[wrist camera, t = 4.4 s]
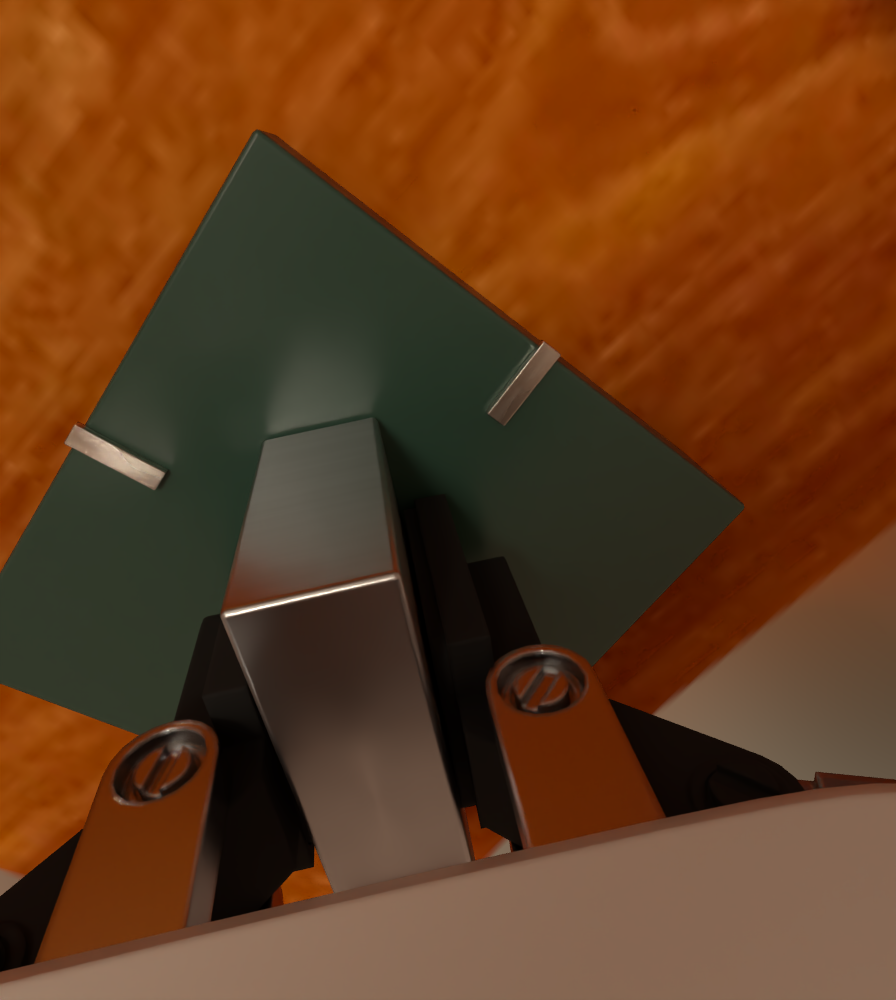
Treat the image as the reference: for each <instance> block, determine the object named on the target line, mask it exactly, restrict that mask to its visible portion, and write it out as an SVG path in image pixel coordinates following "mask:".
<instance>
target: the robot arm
mask: <svg viewBox="0 0 896 1000" xmlns="http://www.w3.org/2000/svg"><path fill="white" fill-rule="evenodd" d="M414 503H415V508H412V509H406V510H404V515H405V521H406V526H407V531H408V536H409V541H410V547H411V552H412V557H413V562H414V567H415V573H416V578H417V583H418V588H419V593H420V599H421V604H422V609H423V614H424V620H425V625H426V630H427V635H428V640H429V645H430V651H431V656H432V661H433V666H434V671H435V676H436V681H437V686H438V691H439V696H440V701H441V706H442V711H443V716H444V721H445V726H446V731H447V736H448V741H449V746H450V751H451V756H452V761H453V766H454V771H455V776H456V781H457V786H458V791H459V796H460V801H461V806H462V808H465V807H470V806H474V805H476V807H477V812H478V816H479V821H480V826H481V828H488V829H490V830H492V831H493V832H495V833H497V834H499V835H501V836H502V837H504V838H506V839H508V840H509V842H510V849H511V853H506V854H502V855H498V856H493V857H489V858H484V859H480V860H475V861H471V862H467V863H462V864H458V865H453V866H449V867H445V868H440V869H436V870H432V871H427V872H423V873H419V874H414V875H410V876H406V877H401V878H397V879H393V880H388V881H384V882H380V883H376V884H371V885H367V886H363V887H358V888H354V889H350V890H345V891H341V892H337V893H332V894H328V895H324V896H319V897H315V898H311V899H307V900H302V901H298V902H294V903H289V904H285V905H284V903H283V894H282V889H281V887H280V886H281V885H282V884H283V882H284V881H285V880H286V879H287V878H288V877H289V876H290V875H291V874H292V872H294V871H298V870H303V869H307V868H311V867H314V843H313V841H312V838H311V836H310V833H309V831H308V829H307V826H306V824H305V821H304V819H303V816H302V814H301V812H300V809H299V807H298V804H297V802H296V799H295V797H294V795H293V792H292V790H291V787H290V785H289V782H288V780H287V778H286V775H285V773H284V770H283V768H282V765H281V763H280V761H279V758H278V756H277V753H276V751H275V748H274V746H273V744H272V741H271V739H270V736H269V734H268V731H267V729H266V727H265V724H264V722H263V719H262V717H261V714H260V712H259V710H258V707H257V705H256V702H255V700H254V697H253V695H252V693H251V690H250V688H249V685H248V683H247V680H246V678H245V676H244V673H243V671H242V668H241V666H240V663H239V661H238V659H237V656H236V654H235V651H234V649H233V646H232V644H231V642H230V639H229V637H228V634H227V632H226V629H225V627H224V625H223V622H222V620H221V617H220V614H216V615H211V616H207V617H205V618H204V619H203V621H202V624H201V627H200V630H199V634H198V637H197V641H196V644H195V648H194V651H193V655H192V658H191V662H190V665H189V669H188V672H187V676H186V679H185V683H184V686H183V690H182V694H181V697H180V701H179V704H178V708H177V711H176V715H175V718H174V721H171V722H168V723H165V724H162V725H159V726H156V727H154V728H152V729H150V730H148V731H146V732H144V733H142V734H140V735H139V736H137V737H136V738H135V739H133V740H132V741H131V742H129V743H128V744H127V745H125V746H124V747H123V748H122V749H121V750H120V751H119V752H118V753H117V755H116V756H115V757H114V758H113V759H112V760H111V761H110V763H109V765H108V767H107V769H106V770H105V772H104V774H103V776H102V779H101V781H100V784H99V787H98V790H97V792H96V795H95V798H94V801H93V803H92V806H91V809H90V811H89V814H88V817H87V820H86V822H85V825H84V828H83V829H82V830H81V831H80V832H78V833H77V834H76V835H75V836H73V837H72V838H71V839H70V840H69V841H67V842H66V843H65V844H64V845H62V846H61V847H60V848H59V849H58V850H56V851H55V852H54V853H53V854H51V855H50V856H49V857H48V858H47V859H45V860H44V861H43V862H42V863H40V864H39V865H38V866H37V867H36V868H34V869H33V870H32V871H31V872H29V873H28V874H27V875H26V876H25V877H23V878H22V879H21V880H20V881H18V882H17V883H16V884H15V885H14V886H12V887H11V888H10V889H9V890H8V891H6V892H5V893H4V894H3V895H1V896H0V1000H896V780H894V779H883V778H872V777H863V776H853V775H843V774H833V773H823V772H816V773H815V778H814V781H805V780H797V779H796V778H795V777H794V776H793V775H791V774H790V773H789V772H788V771H786V770H785V769H784V768H783V767H782V766H780V765H779V764H777V763H775V762H773V761H771V760H769V759H767V758H765V757H763V756H761V755H758V754H756V753H753V752H750V751H747V750H745V749H742V748H740V747H737V746H734V745H732V744H729V743H726V742H723V741H721V740H718V739H716V738H713V737H710V736H708V735H705V734H702V733H699V732H697V731H694V730H691V729H689V728H686V727H683V726H681V725H678V724H675V723H672V722H670V721H667V720H664V719H662V718H659V717H657V716H654V715H651V714H649V713H646V712H643V711H641V710H638V709H635V708H632V707H630V706H627V705H624V704H622V703H619V702H616V701H614V700H611V699H608V697H607V695H606V693H605V691H604V689H603V687H602V685H601V683H600V681H599V679H598V677H597V675H596V673H595V671H594V669H593V668H592V666H591V665H590V664H589V663H588V661H587V660H586V659H585V658H584V657H582V656H581V655H579V654H578V653H576V652H575V651H573V650H570V649H567V648H564V647H561V646H556V645H547V644H541V642H540V640H539V637H538V635H537V632H536V630H535V628H534V625H533V623H532V620H531V618H530V616H529V613H528V611H527V609H526V606H525V604H524V601H523V599H522V597H521V594H520V592H519V590H518V587H517V585H516V582H515V580H514V578H513V575H512V573H511V571H510V568H509V566H508V563H507V561H506V559H505V557H503V556H501V557H496V558H491V559H486V560H481V561H476V562H471V563H467V562H466V559H465V556H464V552H463V549H462V546H461V543H460V540H459V537H458V534H457V531H456V528H455V525H454V521H453V518H452V515H451V512H450V509H449V506H448V503H447V500H446V497H445V494H441V495H435V496H430V497H425V498H420V499H415V500H414Z"/></svg>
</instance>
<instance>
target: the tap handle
mask: <svg viewBox="0 0 896 1000" xmlns="http://www.w3.org/2000/svg"><path fill="white" fill-rule="evenodd" d="M220 617H221V620H222V622H223V625H224V627H225V629H226V632H227V634H228V637H229V639H230V642H231V644H232V646H233V649H234V651H235V654H236V656H237V659H238V661H239V663H240V666H241V668H242V671H243V673H244V676H245V678H246V680H247V683H248V685H249V688H250V690H251V693H252V695H253V697H254V700H255V702H256V705H257V707H258V710H259V712H260V714H261V717H262V719H263V722H264V724H265V727H266V729H267V731H268V734H269V736H270V739H271V741H272V744H273V746H274V748H275V751H276V753H277V756H278V758H279V761H280V763H281V765H282V768H283V770H284V773H285V775H286V778H287V780H288V782H289V785H290V787H291V790H292V792H293V795H294V797H295V799H296V802H297V804H298V807H299V809H300V812H301V814H302V816H303V819H304V821H305V824H306V826H307V829H308V831H309V833H310V836H311V838H312V841H313V843H314V846H315V848H316V850H317V853H318V855H319V858H320V860H321V863H322V865H323V867H324V870H325V872H326V875H327V877H328V880H329V882H330V884H331V887H332V889H333V892H334V893H337V892H341V891H345V890H350V889H354V888H358V887H363V886H367V885H371V884H376V883H380V882H384V881H388V880H393V879H397V878H401V877H406V876H410V875H414V874H419V873H423V872H427V871H432V870H436V869H440V868H445V867H449V866H453V865H458V864H462V863H467V862H471V861H475V857H474V852H473V847H472V842H471V837H470V832H469V827H468V822H467V817H466V812H465V808H462V806H461V801H460V796H459V791H458V786H457V781H456V776H455V771H454V766H453V761H452V756H451V751H450V746H449V741H448V736H447V731H446V726H445V721H444V716H443V711H442V706H441V701H440V696H439V691H438V686H437V681H436V676H435V671H434V666H433V661H432V656H431V651H430V645H429V640H428V635H427V630H426V625H425V620H424V615H423V611H422V607H421V603H420V598H419V594H418V590H417V586H416V581H415V577H414V573H413V568H412V564H411V560H410V556H409V551H408V547H407V543H406V539H405V534H404V530H403V526H402V522H401V517H400V513H399V509H398V505H397V500H396V496H395V492H394V488H393V483H392V479H391V475H390V471H389V466H388V462H387V458H386V454H385V449H384V445H383V441H382V437H381V432H380V428H379V424H378V421H377V420H376V418H367V419H362V420H358V421H353V422H349V423H344V424H339V425H335V426H330V427H325V428H321V429H316V430H311V431H307V432H302V433H297V434H293V435H288V436H283V437H279V438H274V439H269V440H266V441H264V442H263V443H262V447H261V451H260V455H259V459H258V463H257V467H256V471H255V475H254V479H253V483H252V487H251V491H250V495H249V499H248V503H247V507H246V511H245V515H244V519H243V523H242V527H241V531H240V535H239V539H238V543H237V547H236V551H235V555H234V559H233V563H232V567H231V571H230V575H229V579H228V583H227V587H226V591H225V595H224V599H223V603H222V607H221V612H220Z"/></svg>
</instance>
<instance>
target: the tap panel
mask: <svg viewBox="0 0 896 1000" xmlns="http://www.w3.org/2000/svg"><path fill="white" fill-rule="evenodd" d="M367 418H376V420H377V421H378V424H379V428H380V432H381V437H382V441H383V445H384V449H385V454H386V458H387V462H388V466H389V471H390V475H391V479H392V483H393V488H394V492H395V496H396V500H397V505H398V509H399V513H400V517H401V522H402V526H403V530H404V534H405V539H406V543H407V547H408V551H409V556H410V560H411V564H412V568H413V573H414V577H415V581H416V586H417V590H418V594H419V598H420V593H419V588H418V583H417V578H416V573H415V567H414V562H413V557H412V552H411V547H410V541H409V536H408V531H407V526H406V521H405V515H404V510H406V509H412V508H415V503H414V500H415V499H420V498H425V497H430V496H435V495H441V494H445V497H446V500H447V503H448V506H449V509H450V512H451V515H452V518H453V521H454V525H455V528H456V531H457V534H458V537H459V540H460V543H461V546H462V549H463V552H464V556H465V559H466V562H467V563H471V562H476V561H481V560H486V559H491V558H496V557H501V556H503V557H505V559H506V561H507V563H508V566H509V568H510V571H511V573H512V575H513V578H514V580H515V582H516V585H517V587H518V590H519V592H520V594H521V597H522V599H523V601H524V604H525V606H526V609H527V611H528V613H529V616H530V618H531V620H532V623H533V625H534V628H535V630H536V632H537V635H538V637H539V640H540V642H541V644H547V645H556V646H561V647H564V648H567V649H570V650H573V651H575V652H576V653H578V654H579V655H581V656H582V657H584V658H585V659H586V660H587V661H588V663H589V664H590V665H591V666H593V665H594V664H595V663H596V662H597V661H598V660H599V659H600V658H601V657H602V656H603V655H604V654H605V653H606V652H607V651H608V650H609V649H610V648H611V647H612V645H613V644H614V643H615V642H616V641H617V640H618V639H619V638H620V637H621V636H622V635H623V634H624V633H625V632H626V631H627V630H628V629H629V628H630V627H631V626H632V625H633V624H634V623H635V622H636V621H637V620H638V619H639V617H640V616H641V615H642V614H643V613H644V612H645V611H646V610H647V609H648V608H649V607H650V606H651V605H652V604H653V603H654V602H655V601H656V600H657V599H658V598H659V597H660V596H661V595H662V594H663V593H664V592H665V590H666V589H667V588H668V587H669V586H670V585H671V584H672V583H673V582H674V581H675V580H676V579H677V578H678V577H679V576H680V575H681V574H682V573H683V572H684V571H685V570H686V569H687V568H688V567H689V566H690V565H691V564H692V562H693V561H694V560H695V559H696V558H697V557H698V556H699V555H700V554H701V553H702V552H703V551H704V550H705V549H706V548H707V547H708V546H709V545H710V544H711V543H712V542H713V541H714V540H715V539H716V538H717V537H718V535H719V534H720V533H721V532H722V531H723V530H724V529H725V528H726V527H727V526H728V525H729V524H730V523H731V522H732V521H733V520H734V519H735V518H736V517H737V516H738V515H739V514H740V513H741V512H742V511H743V510H744V504H743V503H742V502H741V501H740V500H739V499H737V498H736V497H735V496H734V495H733V494H732V493H730V492H729V491H728V490H727V489H726V488H725V487H723V486H722V485H721V484H720V483H719V482H718V481H716V480H715V479H714V478H713V477H712V476H711V475H709V474H708V473H707V472H706V471H705V470H704V469H702V468H701V467H700V466H699V465H698V464H697V463H695V462H694V461H693V460H692V459H691V458H690V457H688V456H687V455H686V454H685V453H684V452H682V451H681V450H680V449H679V448H677V447H676V446H675V445H673V444H672V443H671V442H670V441H668V440H667V439H666V438H664V437H663V436H662V435H661V434H659V433H658V432H657V431H655V430H654V429H653V428H652V427H650V426H649V425H648V424H646V423H645V422H644V421H643V420H641V419H640V418H639V417H637V416H636V415H635V414H634V413H632V412H631V411H630V410H628V409H627V408H626V407H625V406H623V405H622V404H621V403H619V402H618V401H617V400H616V399H614V398H613V397H612V396H610V395H609V394H608V393H607V392H605V391H604V390H603V389H601V388H600V387H599V386H598V385H596V384H595V383H594V382H592V381H591V380H590V379H589V378H587V377H586V376H585V375H583V374H582V373H581V372H580V371H578V370H577V369H576V368H574V367H573V366H572V365H571V364H569V363H568V362H567V361H565V360H564V359H563V358H562V357H560V353H558V352H557V351H556V350H555V349H553V348H552V347H551V346H550V345H548V344H547V343H546V342H544V341H543V340H541V341H540V340H538V339H537V338H536V337H535V336H533V335H532V334H531V333H529V332H528V331H527V330H526V329H524V328H523V327H522V326H520V325H519V324H518V323H517V322H515V321H514V320H513V319H511V318H510V317H509V316H508V315H506V314H505V313H504V312H502V311H501V310H500V309H499V308H497V307H496V306H495V305H493V304H492V303H491V302H490V301H488V300H487V299H486V298H484V297H483V296H482V295H481V294H479V293H478V292H477V291H475V290H474V289H473V288H472V287H470V286H469V285H468V284H466V283H465V282H464V281H463V280H461V279H460V278H459V277H457V276H456V275H455V274H454V273H452V272H451V271H450V270H448V269H447V268H446V267H445V266H443V265H442V264H441V263H439V262H438V261H437V260H436V259H434V258H433V257H432V256H430V255H429V254H428V253H427V252H425V251H424V250H423V249H421V248H420V247H419V246H418V245H416V244H415V243H414V242H412V241H411V240H410V239H409V238H407V237H406V236H405V235H403V234H402V233H401V232H400V231H398V230H397V229H396V228H394V227H393V226H392V225H391V224H389V223H388V222H387V221H385V220H384V219H383V218H382V217H380V216H379V215H378V214H376V213H375V212H374V211H373V210H371V209H370V208H369V207H367V206H366V205H365V204H364V203H362V202H361V201H360V200H358V199H357V198H356V197H355V196H353V195H352V194H351V193H349V192H348V191H347V190H346V189H344V188H343V187H342V186H340V185H339V184H338V183H337V182H335V181H334V180H333V179H331V178H330V177H329V176H328V175H326V174H325V173H324V172H322V171H321V170H320V169H319V168H317V167H316V166H315V165H313V164H312V163H311V162H310V161H308V160H307V159H306V158H304V157H303V156H302V155H301V154H299V153H298V152H297V151H295V150H294V149H293V148H292V147H290V146H289V145H288V144H286V143H285V142H284V141H283V140H281V139H280V138H279V137H277V136H276V135H274V134H270V133H267V132H264V131H260V130H255V131H254V132H253V133H252V135H251V136H250V138H249V140H248V142H247V143H246V145H245V147H244V149H243V150H242V152H241V154H240V156H239V157H238V159H237V161H236V163H235V164H234V166H233V168H232V170H231V171H230V173H229V175H228V177H227V178H226V180H225V182H224V184H223V185H222V187H221V189H220V191H219V192H218V194H217V196H216V197H215V199H214V201H213V203H212V204H211V206H210V208H209V210H208V211H207V213H206V215H205V217H204V218H203V220H202V222H201V224H200V225H199V227H198V229H197V231H196V232H195V234H194V236H193V238H192V239H191V241H190V243H189V245H188V246H187V248H186V250H185V252H184V253H183V255H182V257H181V259H180V260H179V262H178V264H177V266H176V267H175V269H174V271H173V272H172V274H171V276H170V278H169V279H168V281H167V283H166V285H165V286H164V288H163V290H162V292H161V293H160V295H159V297H158V299H157V300H156V302H155V304H154V306H153V307H152V309H151V311H150V313H149V314H148V316H147V318H146V320H145V321H144V323H143V325H142V327H141V328H140V330H139V332H138V334H137V335H136V337H135V339H134V340H133V342H132V344H131V346H130V347H129V349H128V351H127V353H126V354H125V356H124V358H123V360H122V361H121V363H120V365H119V367H118V368H117V370H116V372H115V374H114V375H113V377H112V379H111V381H110V382H109V384H108V386H107V388H106V389H105V391H104V393H103V395H102V396H101V398H100V400H99V402H98V403H97V405H96V407H95V408H94V410H93V412H92V414H91V415H90V417H89V419H88V421H87V422H86V424H85V425H84V424H82V423H80V422H77V423H76V424H75V425H74V426H73V428H72V430H71V432H70V433H69V435H68V437H67V439H66V440H65V442H64V444H66V445H68V446H70V447H72V449H71V450H70V452H69V454H68V456H67V457H66V459H65V461H64V463H63V464H62V466H61V468H60V470H59V471H58V473H57V475H56V477H55V478H54V480H53V482H52V483H51V485H50V487H49V489H48V490H47V492H46V494H45V496H44V497H43V499H42V501H41V503H40V504H39V506H38V508H37V510H36V511H35V513H34V515H33V517H32V518H31V520H30V522H29V524H28V525H27V527H26V529H25V531H24V532H23V534H22V536H21V538H20V539H19V541H18V543H17V545H16V546H15V548H14V550H13V551H12V553H11V555H10V557H9V558H8V560H7V562H6V564H5V565H4V567H3V569H2V571H1V572H0V684H3V685H6V686H8V687H11V688H14V689H16V690H19V691H22V692H25V693H27V694H30V695H33V696H35V697H38V698H41V699H43V700H46V701H49V702H51V703H54V704H57V705H59V706H62V707H65V708H68V709H70V710H73V711H76V712H78V713H81V714H84V715H86V716H89V717H92V718H94V719H97V720H100V721H102V722H105V723H108V724H111V725H113V726H116V727H119V728H121V729H124V730H127V731H129V732H132V733H135V734H137V735H140V734H142V733H144V732H146V731H148V730H150V729H152V728H154V727H156V726H159V725H162V724H165V723H168V722H171V721H174V718H175V715H176V711H177V708H178V704H179V701H180V697H181V694H182V690H183V686H184V683H185V679H186V676H187V672H188V669H189V665H190V662H191V658H192V655H193V651H194V648H195V644H196V641H197V637H198V634H199V630H200V627H201V624H202V621H203V619H204V618H205V617H207V616H211V615H216V614H220V612H221V607H222V603H223V599H224V595H225V591H226V587H227V583H228V579H229V575H230V571H231V567H232V563H233V559H234V555H235V551H236V547H237V543H238V539H239V535H240V531H241V527H242V523H243V519H244V515H245V511H246V507H247V503H248V499H249V495H250V491H251V487H252V483H253V479H254V475H255V471H256V467H257V463H258V459H259V455H260V451H261V447H262V443H263V442H264V441H266V440H269V439H274V438H279V437H283V436H288V435H293V434H297V433H302V432H307V431H311V430H316V429H321V428H325V427H330V426H335V425H339V424H344V423H349V422H353V421H358V420H362V419H367ZM420 603H421V599H420ZM421 607H422V604H421ZM422 611H423V609H422ZM423 615H424V614H423Z"/></svg>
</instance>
